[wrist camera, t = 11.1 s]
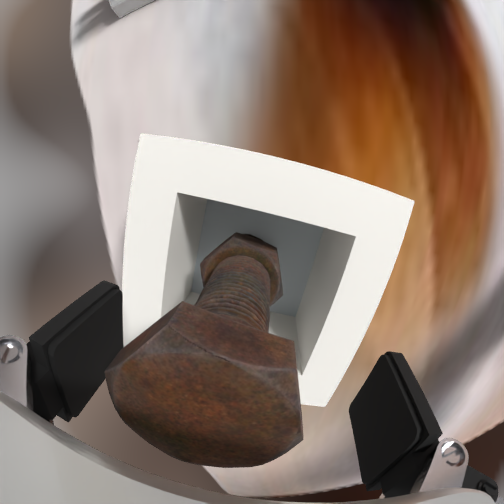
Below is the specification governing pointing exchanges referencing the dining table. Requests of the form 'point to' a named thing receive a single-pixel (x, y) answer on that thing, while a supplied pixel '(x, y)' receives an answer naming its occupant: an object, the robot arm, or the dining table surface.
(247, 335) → the bolt
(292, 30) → the dining table surface
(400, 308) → the dining table surface
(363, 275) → the socket post
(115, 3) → the grey arched bracket
